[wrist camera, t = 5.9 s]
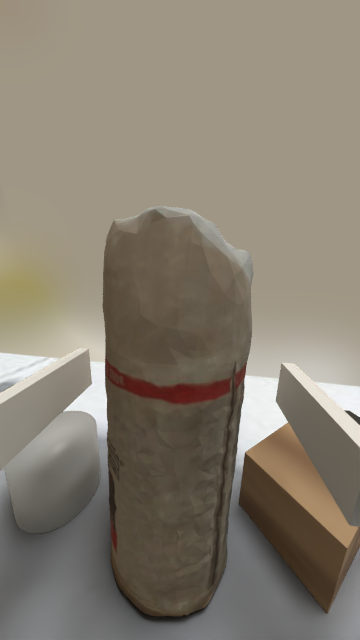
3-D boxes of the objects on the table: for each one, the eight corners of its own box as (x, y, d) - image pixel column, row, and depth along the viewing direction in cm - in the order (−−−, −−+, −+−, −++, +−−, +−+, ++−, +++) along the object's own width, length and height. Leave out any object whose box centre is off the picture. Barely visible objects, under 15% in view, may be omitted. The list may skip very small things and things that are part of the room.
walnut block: (326, 615, 10) (347, 548, 9) (238, 504, 15) (245, 452, 14) (364, 537, 13) (382, 480, 12) (281, 466, 18) (289, 421, 17)
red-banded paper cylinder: (142, 456, 19) (137, 240, 14) (228, 478, 17) (252, 237, 13) (78, 588, 11) (24, 192, 6) (227, 659, 9) (294, 165, 5)
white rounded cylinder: (-4, 550, 12) (-20, 489, 11) (33, 464, 18) (25, 418, 17) (97, 515, 14) (92, 460, 13) (102, 448, 20) (99, 405, 19)
